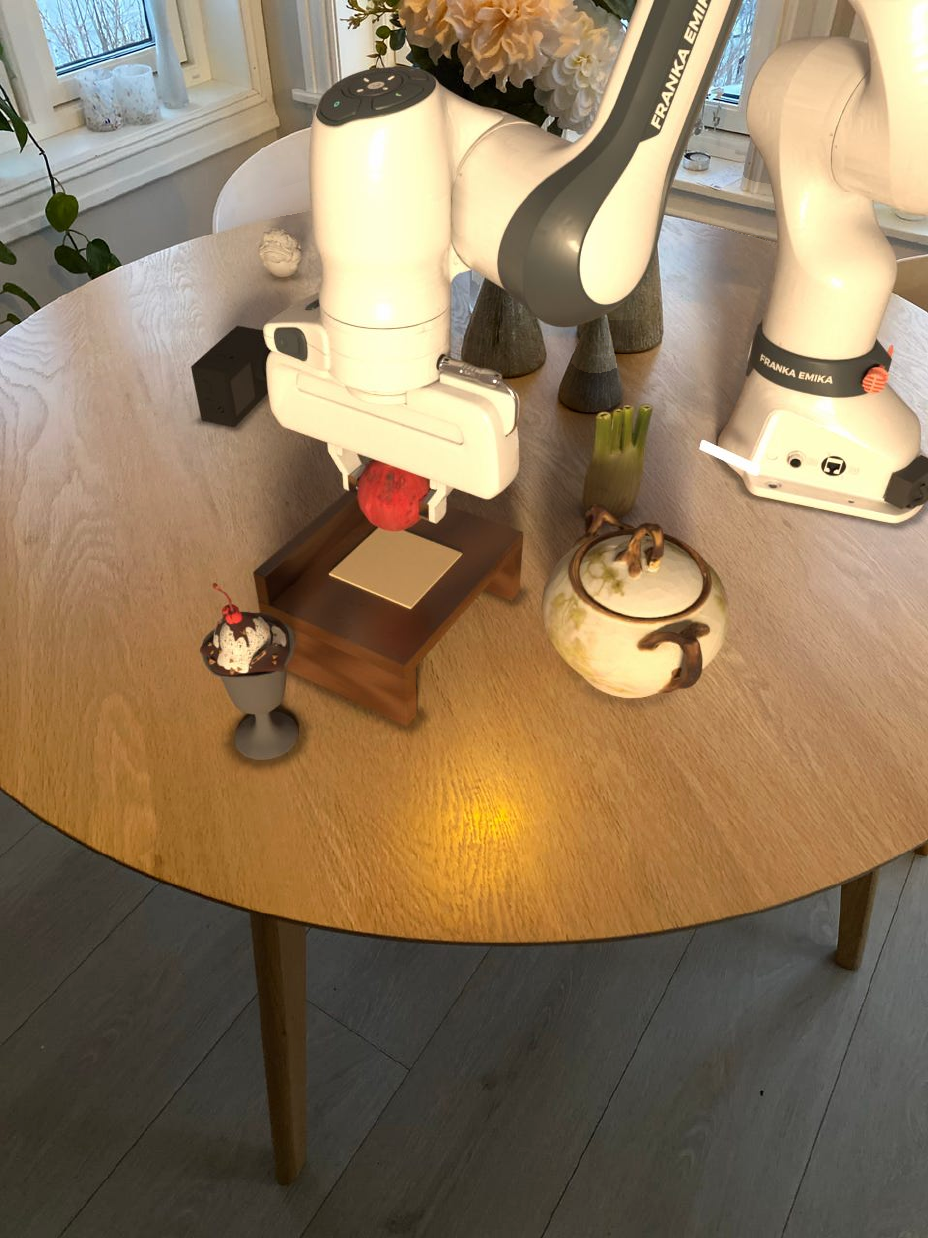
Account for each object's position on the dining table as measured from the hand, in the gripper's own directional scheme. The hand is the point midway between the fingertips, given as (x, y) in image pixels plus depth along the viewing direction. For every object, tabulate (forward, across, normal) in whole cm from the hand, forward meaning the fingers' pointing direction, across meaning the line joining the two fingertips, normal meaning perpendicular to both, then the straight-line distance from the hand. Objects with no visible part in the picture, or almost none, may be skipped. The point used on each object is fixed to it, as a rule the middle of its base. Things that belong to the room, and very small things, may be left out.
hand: (393, 502), depth 76 cm
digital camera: (+14, +36, -22) cm, 44 cm away
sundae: (+14, +2, +16) cm, 21 cm away
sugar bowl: (+14, -19, -6) cm, 24 cm away
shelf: (+13, 0, 0) cm, 13 cm away
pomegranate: (+3, 0, 0) cm, 3 cm away
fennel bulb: (+14, -9, -25) cm, 30 cm away
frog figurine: (+14, +54, -52) cm, 76 cm away
